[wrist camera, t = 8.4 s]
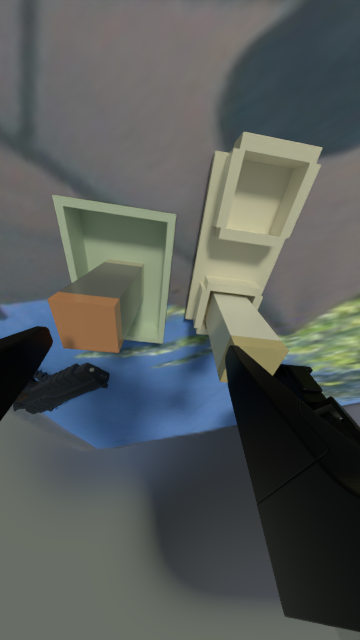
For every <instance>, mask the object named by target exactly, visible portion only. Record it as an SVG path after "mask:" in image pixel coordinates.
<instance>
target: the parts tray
mask: <svg viewBox="0 0 360 640" xmlns="http://www.w3.org/2000/svg"><path fill="white" fill-rule="evenodd" d="M52 196H53V201H54V205H55V210H56V215H57V219H58V224H59V228H60V233H61V237H62V242H63V246H64V251H65V255H66V260H67V264H68V269H69V273H70V278H71V282H72V283H73V282H74V281H76V280H77V279H79V278H80V277H82V276H84V275H85V274H87V273H88V272H90V271H91V270H93V269H94V268H96V267H97V266H99V265H100V264H102V263H103V262H105V261H106V260H108V259H111V260H119V261H127V262H135V263H143V264H144V296H143V298H142V300H141V303H140V305H139V307H138V310H137V312H136V314H135V317H134V319H133V321H132V324H131V326H130V328H129V330H128V333H127V335H126V337H125V340H131V341H141V342H151V343H161V344H163V338H164V330H165V321H166V311H167V302H168V292H169V283H170V273H171V264H172V254H173V245H174V235H175V226H176V216H177V214H172V213H165V212H159V211H153V210H147V209H140V208H134V207H128V206H122V205H115V204H109V203H103V202H96V201H90V200H84V199H78V198H71V197H64V196H57V195H52Z"/></svg>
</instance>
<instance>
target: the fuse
mask: <svg viewBox="0 0 360 640" xmlns="http://www.w3.org/2000/svg"><path fill="white" fill-rule="evenodd" d="M204 317H205V322H206V326H207V330H208V334H209V338H210V343H211V347H212V351H213V355H214V359H215V364H216V368H217V372H218V376H219V381H220V382H227V383H228V381H227V374H226V366H225V356H226V353H227V350H228V347H229V346H230V345H237V346H239V347H240V348H241V349H243V350H244V351H245V352H246V353H247V354H248V355H249V356H251V357H252V358H253V359H254V360H255V361H256V362H257V363H259V364H260V365H261V366H262V367H263V368H264V369H266V370H267V371H268V372H269V373H270V374H271V375H272V376H273V375H274V373H275V371H276V370H277V368H278V367H279V365H280V364H281V362H282V361H283V359H284V358H285V356H286V355H287V353H288V352H289V350H288V349H287V348H286V346H285V345H284V344H283V343H282V341H281V340H280V339H279V338H278V336H277V335H276V334H275V332H274V331H273V330H272V329H271V327H270V326H269V325H268V324H267V322H266V321H265V320H264V319H263V317H262V316H261V315H260V314H259V312H258V311H257V310H256V308H255V307H254V306H253V305H252V303H251V302H250V301H249V300H248V298H247V297H246V296H245V295H242V294H234V293H226V292H218V291H210V295H209V299H208V303H207V307H206V311H205V315H204Z"/></svg>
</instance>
